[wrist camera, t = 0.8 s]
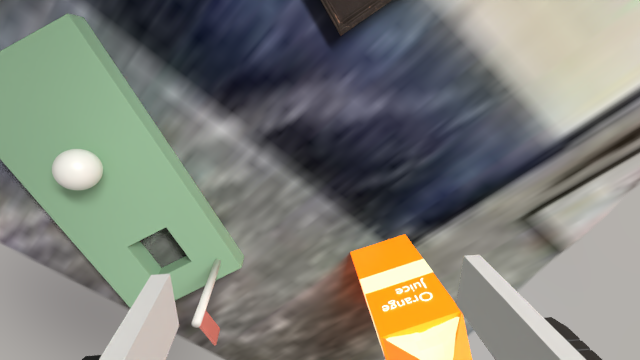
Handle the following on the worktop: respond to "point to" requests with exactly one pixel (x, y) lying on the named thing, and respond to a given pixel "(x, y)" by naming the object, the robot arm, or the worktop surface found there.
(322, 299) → the worktop surface
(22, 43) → the putting deck
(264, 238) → the worktop surface
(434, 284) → the orange juice
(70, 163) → the ball
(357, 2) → the hardcover book
